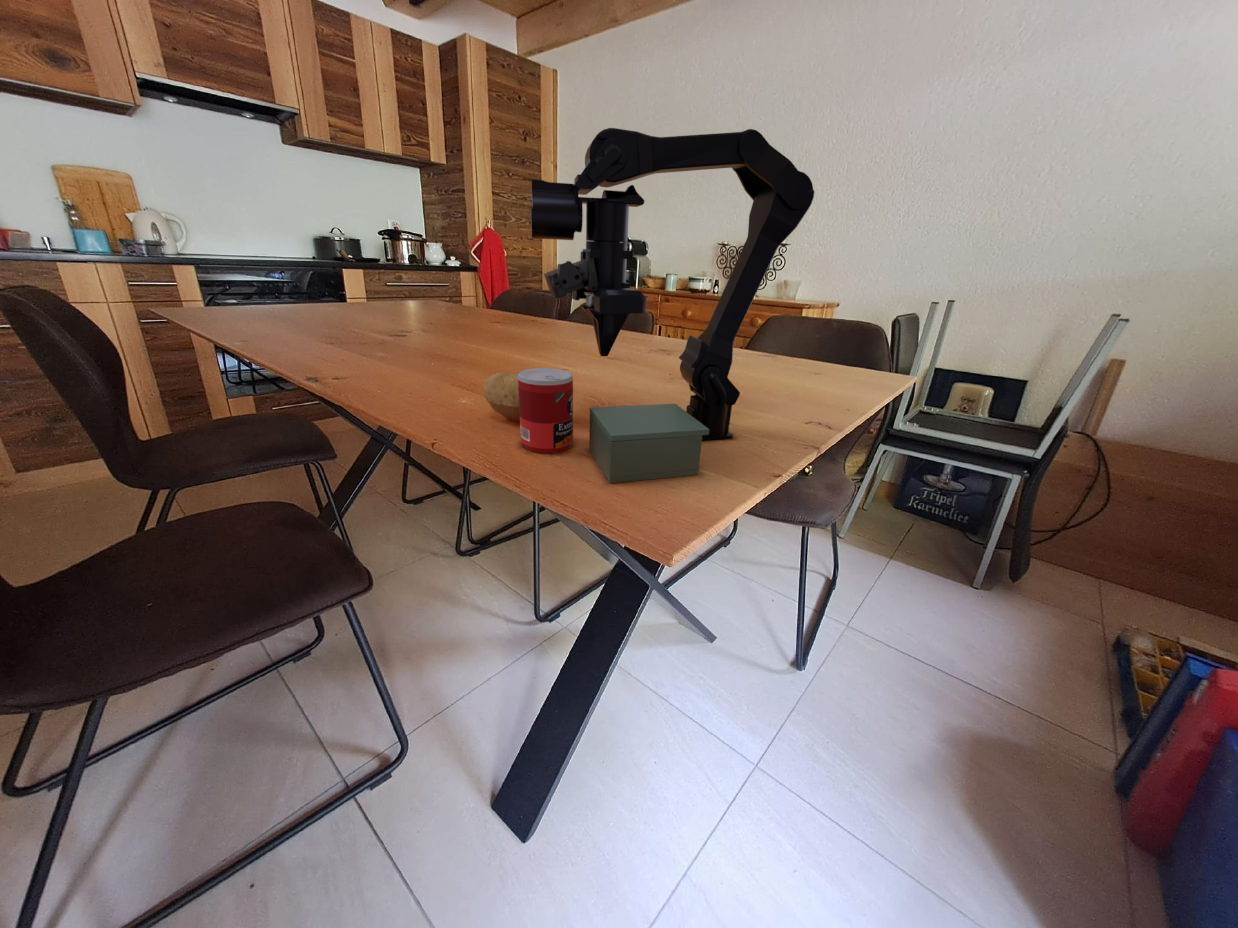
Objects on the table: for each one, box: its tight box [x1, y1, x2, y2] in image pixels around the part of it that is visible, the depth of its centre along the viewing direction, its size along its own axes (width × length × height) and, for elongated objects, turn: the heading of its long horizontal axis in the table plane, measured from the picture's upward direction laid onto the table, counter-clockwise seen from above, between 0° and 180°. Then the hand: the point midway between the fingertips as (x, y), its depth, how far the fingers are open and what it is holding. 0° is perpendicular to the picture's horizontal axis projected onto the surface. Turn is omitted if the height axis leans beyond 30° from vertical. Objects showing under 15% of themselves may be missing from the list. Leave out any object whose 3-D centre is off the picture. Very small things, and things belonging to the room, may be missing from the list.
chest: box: [588, 413, 703, 484], centre depth 67 cm, size 13×12×6 cm
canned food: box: [517, 367, 574, 455], centre depth 70 cm, size 8×8×11 cm
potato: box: [482, 372, 520, 423], centre depth 81 cm, size 10×14×8 cm
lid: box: [589, 403, 709, 441], centre depth 65 cm, size 14×12×1 cm
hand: (603, 355), depth 71 cm, fingers closed
